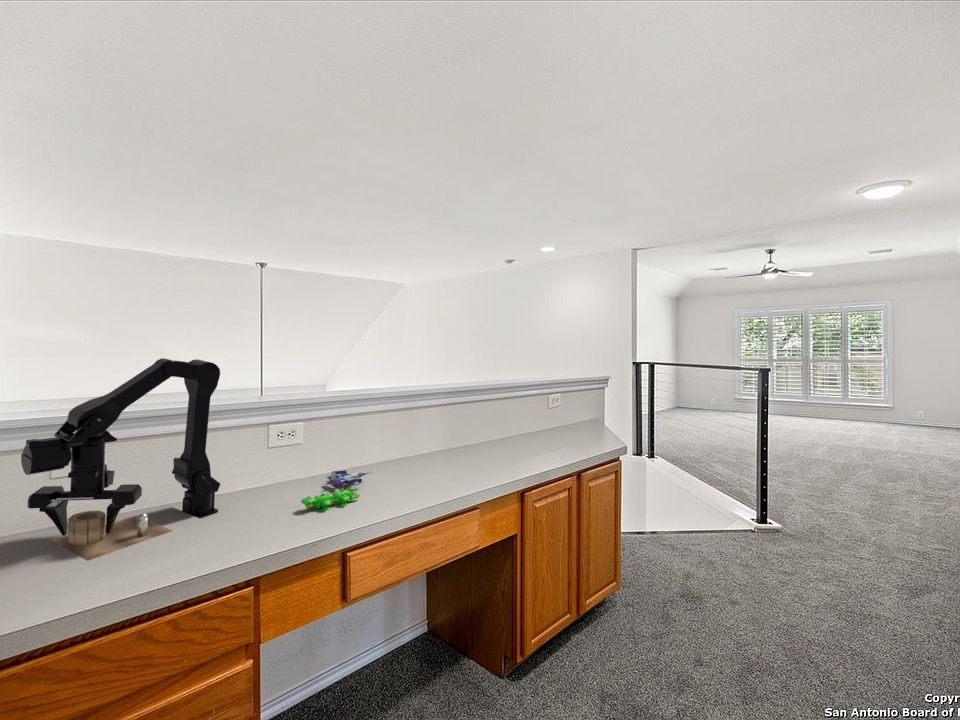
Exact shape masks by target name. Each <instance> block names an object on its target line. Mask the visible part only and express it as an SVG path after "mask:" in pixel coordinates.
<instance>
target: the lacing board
mask: <svg viewBox="0 0 960 720" xmlns="http://www.w3.org/2000/svg"><path fill="white" fill-rule="evenodd" d="M138 516H139V514H137V515H134V516H130V517H127V518H124V519H119V520H117V521H115V522H114V524H113V527H112V529H111V531H110V533H107V532H106V524H105V536H104V537H103V538H102V540H100V541H97V542H94V543H91V544H87V545H72V544H70V543H68V535H67V536H63V537H62V538H58V539H55V540H52V542H53V543H55V544H57V545H58V546H60V547H62V548H64V549H65V550H67V551H69V552H71V553H73V554H74V555H76V556H79V557H80V558H82V559H84V560H86V561H91V560H94V559H97V558H99V557H103V556H105V555H108V554H110V553H113V552H116V551H119V550H120V551H121V550H122V549H123V550H124V549H125V548H129V547H130V546H134V545H136V544H139V543H142V542H145V541H148V540H151V539H153V538H156V537H159V536H163V535H165V534H168V533H170V532H173V530H172V529H170V528H167V527H165V526H163V525H161V524H158V523H156V522H154V521H151V520H149V519H148V534H147V535H146V536H143V537H138V536H137V517H138Z"/></svg>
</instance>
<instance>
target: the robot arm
mask: <svg viewBox="0 0 960 720" xmlns="http://www.w3.org/2000/svg"><path fill="white" fill-rule="evenodd" d="M220 376H221V369H220V367H219V366H218V365H217V364H215V363H214V362H210V361H206V360H201V359H192V360H190V361H181V360H176V359H175V360H171V359H169V358H162V357H161V358H159V359H157V360H156V361H155V362H154V363H153V364H152V365H150V366H148V367H147V368H145V369H144V370H142V371H141V372H139V373H138V374H136V375H134V376H133V377H132V378H130V379H128V380H127V381H125V382H124V383H122V384H121V385H119V386H118V387H115V389H113V390H111V391H110V392H108V393H106V394H104V395H102V396H99V397H95V398H92V399H91V398H90V399H89V400H87V401H85V402H82V403H80V404H78V405H76V406H75V407H73V408H72V409H71V410H69V412H68V415H67V418H66V421H65V422H64V423H63V424H62V425H61V426H60V428H58V430H57V431H56V432H55V433H54V435H53V436H54V437H48V438H47V437H46V438H31V439H27V440H25V445H24V446H23V447H24V448H23V450H22V453H21V454H20V460H21V467H22V470H23V472H24V473H23V474H25V475H26V476H28V475H34V474H41V473H45V472H46V473H47V472H53V471H58V470H63V469H64V468H65V467H68V466H69V465H70V471H69V472H68V473H67V478H68V479H70V489H69V490H65V489H64V487H63V485H51V486H47V485H45V486H41V487H40V488H39V489H37V490H35V491H34V492H32V494H30V495H29V496H28V498H27V509H30V510H31V509H39V511H38V512H40V513H45V515H47V516H48V517H49V519H50V521H52V522H53V523H54V525H55V527H56V529H57V530H59V532H60V534H61V536H63V537H66V535H68V513H67V512H68V511H67V509H68V508H67V507H68V504H69V501H92V500H93V501H96V500H111V503H110V504H109V505H108V506H107V507H106V518H105V525H106V532H107V533H110V531H111V529H112V527H113V524H114V522H116V520H117V517H118V515H119V513H120V511H121V510H122V509H124V508H125V507H126V506H132V505H134V504H136V502H137V501H138V500H139V499H140V498H141V497H142V496H143V495H142V494H143V492H142V491H143V488H142V486H141V485H140V484H139V483H137V484H136V483H135V484H134V483H133V484H130V483H129V484H120V485H119V486H118V487H117V488H116V489H107V488H108V487H110V486H111V485H114V480H115V479H114V477H115V470H108V466H107V464H106V443H112V442H117V440H118V438H117V437H115V436H113V435H112V434H111V433H110V431H108V430H107V429H109V427H111V426H112V425H113V424H114V423H115V422H116V421H117V420H118V419H119V417H120V416H121V414H122V412H123V411H125V410H126V409H127V408H128V407H130V406H131V405H133V404H134V403H135V402H137V401H138V400H140V399H141V398H142V397H144V396H146V395H147V394H148V393H150V392H152V391H153V390H154V389H156V388H157V387H158V386H160V385H161V384H163V383H164V382H166V381H167V380H169V379H170V378H172V377H173V378H181V379H182V378H183V379H184V386H185V389H186V391H187V395H188V403H187V413H186V426H185V435H184V448H183V452H182V454H181V455H180V457H173V460H172V461H173V468H172V471H171V474H173V475H174V479H175V480H176V481H177V482H178V483H179V484H180V485H181V487H182V488H183V489H186V490H185V491H184V495H183V497H182V509H181V512H182V513H184V514H185V513H186V514H188V515H190V516H192V517H195V518H197V519H201V518H204V517H207V516H209V515H212V514H214V513H218V512H219V509H218V508H216V507H215V499H216V498H215V495H216V494H215V493H217V492H218V491H219V489H220V486H221V483H220V482H219V481H218V480H216V479H215V478H214V477H213V476H212V473H211V472H212V471H211V463H210V460H209V458H208V455H207V452H206V449H207V438H208V429H209V428H208V427H209V418H210V417H209V416H210V405H211V397H212V395H213V394H214V392H215V390H216V389H217V388H218V384H219V380H220ZM105 489H106V490H105Z"/></svg>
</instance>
